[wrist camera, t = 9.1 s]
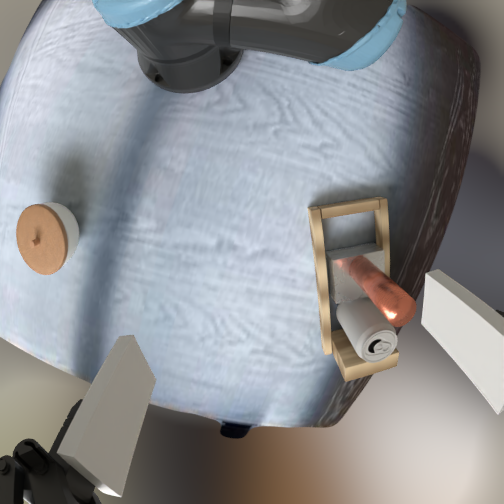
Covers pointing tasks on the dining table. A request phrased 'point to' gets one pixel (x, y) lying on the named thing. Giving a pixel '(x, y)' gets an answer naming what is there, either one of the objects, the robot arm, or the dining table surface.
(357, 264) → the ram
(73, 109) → the dining table surface
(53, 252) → the lidded jar
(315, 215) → the press frame
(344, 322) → the beverage can
